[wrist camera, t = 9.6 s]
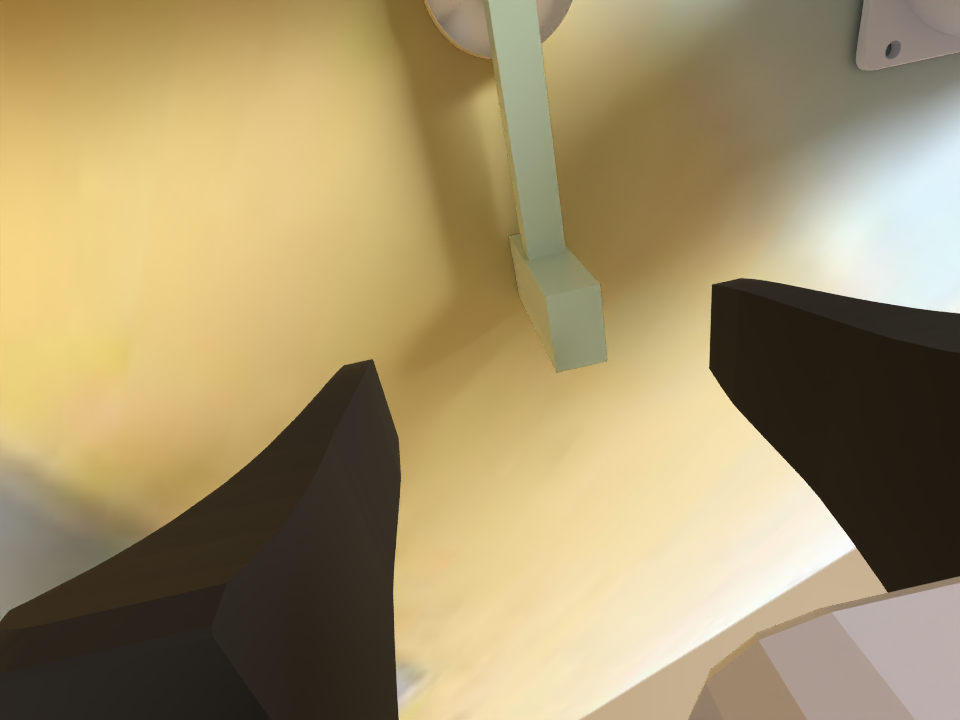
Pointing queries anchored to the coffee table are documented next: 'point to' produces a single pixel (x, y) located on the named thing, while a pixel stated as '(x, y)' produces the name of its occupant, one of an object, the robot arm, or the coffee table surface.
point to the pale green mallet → (540, 196)
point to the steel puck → (464, 22)
